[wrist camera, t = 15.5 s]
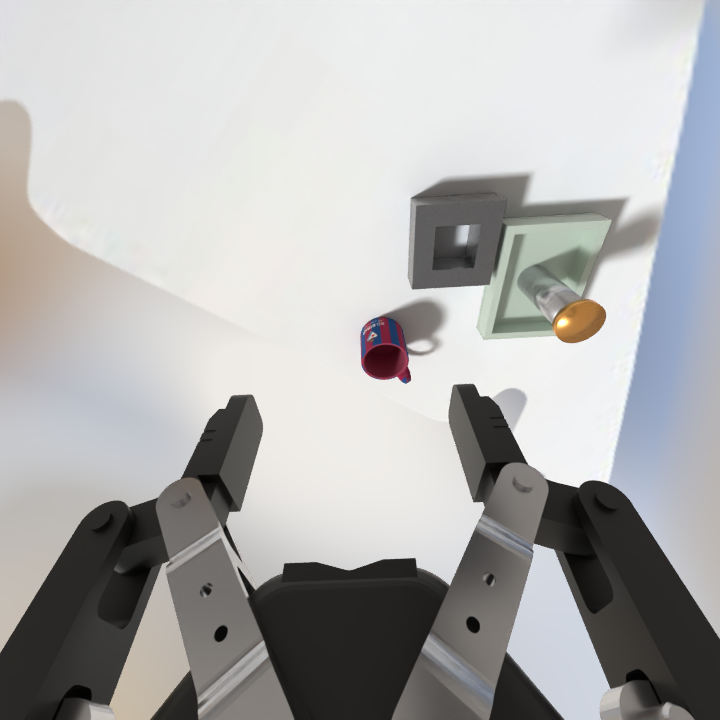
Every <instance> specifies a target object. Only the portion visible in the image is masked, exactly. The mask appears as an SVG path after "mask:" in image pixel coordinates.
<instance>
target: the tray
mask: <svg viewBox="0 0 720 720" xmlns="http://www.w3.org/2000/svg"><path fill="white" fill-rule="evenodd" d="M611 222H612V220H611V219H609V218H606V217H604V216H601V215H599V214H597V213H583V214H567V215H551V216H534V217H518V218H503V223H502V228H501V233H500V237H499V242H498V247H497V252H496V257H495V262H494V267H493V271H492V276H491V281H490V285H485V286H484V292H483V297H482V302H481V307H480V312H479V317H478V322H477V327H476V328H477V329H478V331H479V333H480V335H481V336H482V338H483V340H488V339H506V338H525V337H543V336H556V335H555V334H554V332H553V330H552V323H551V322H550V321H549V320H548V319H547V318H546V317H545V316H544V315H543V314H542V313H541V312H540V311H539V310H538V309H537V307H536V306H535V305H534V304H533V303H532V302H531V301H530V300H529V299H528V298H527V297H526V296H525V295H524V294H523V293H522V292H521V291H520V289H519V288H518V286H517V279H518V277H519V275H520V274H521V272H522V271H523V270H525V269H526V268H528V267H530V266H533V265H541V266H543V267H544V268H546V269H547V270H548V271H549V272H551V273H552V274H553V275H554V276H556V277H557V278H558V279H559V280H561V281H562V282H563V283H564V284H566V285H567V286H568V287H569V288H571V289H572V290H573V291H574V292H575V293H577V294H578V295H579V296H580V297H581V296H582V294H583V291H584V289H585V286H586V284H587V281H588V279H589V276H590V274H591V271H592V269H593V266H594V264H595V261H596V259H597V256H598V254H599V251H600V249H601V246H602V244H603V241H604V239H605V237H606V234H607V232H608V229H609V227H610V224H611Z"/></svg>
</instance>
